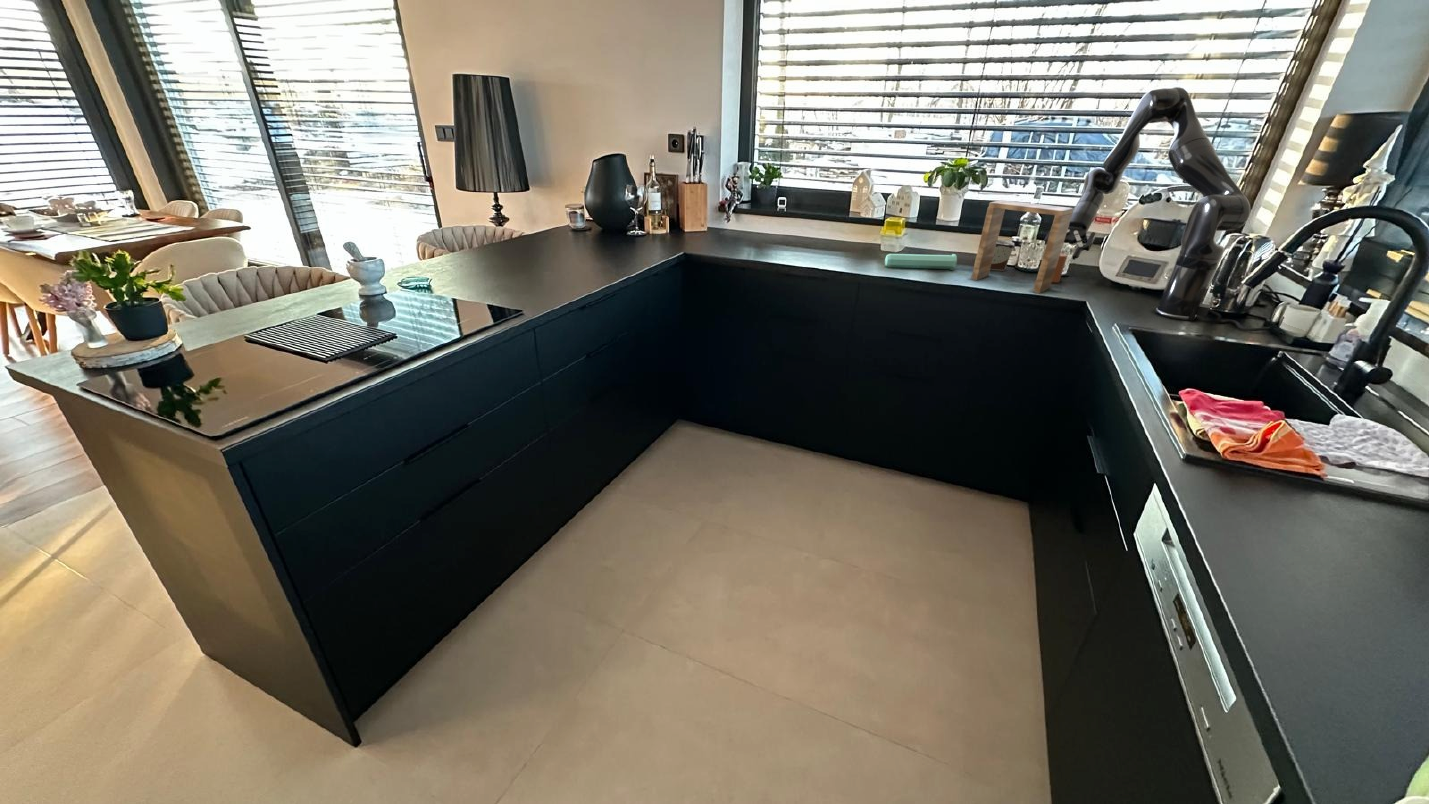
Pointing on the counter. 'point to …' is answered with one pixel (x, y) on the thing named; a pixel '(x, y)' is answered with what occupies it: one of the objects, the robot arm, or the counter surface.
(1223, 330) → the counter surface
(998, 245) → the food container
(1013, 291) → the counter surface
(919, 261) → the container
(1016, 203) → the shelf
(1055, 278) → the tea tin
